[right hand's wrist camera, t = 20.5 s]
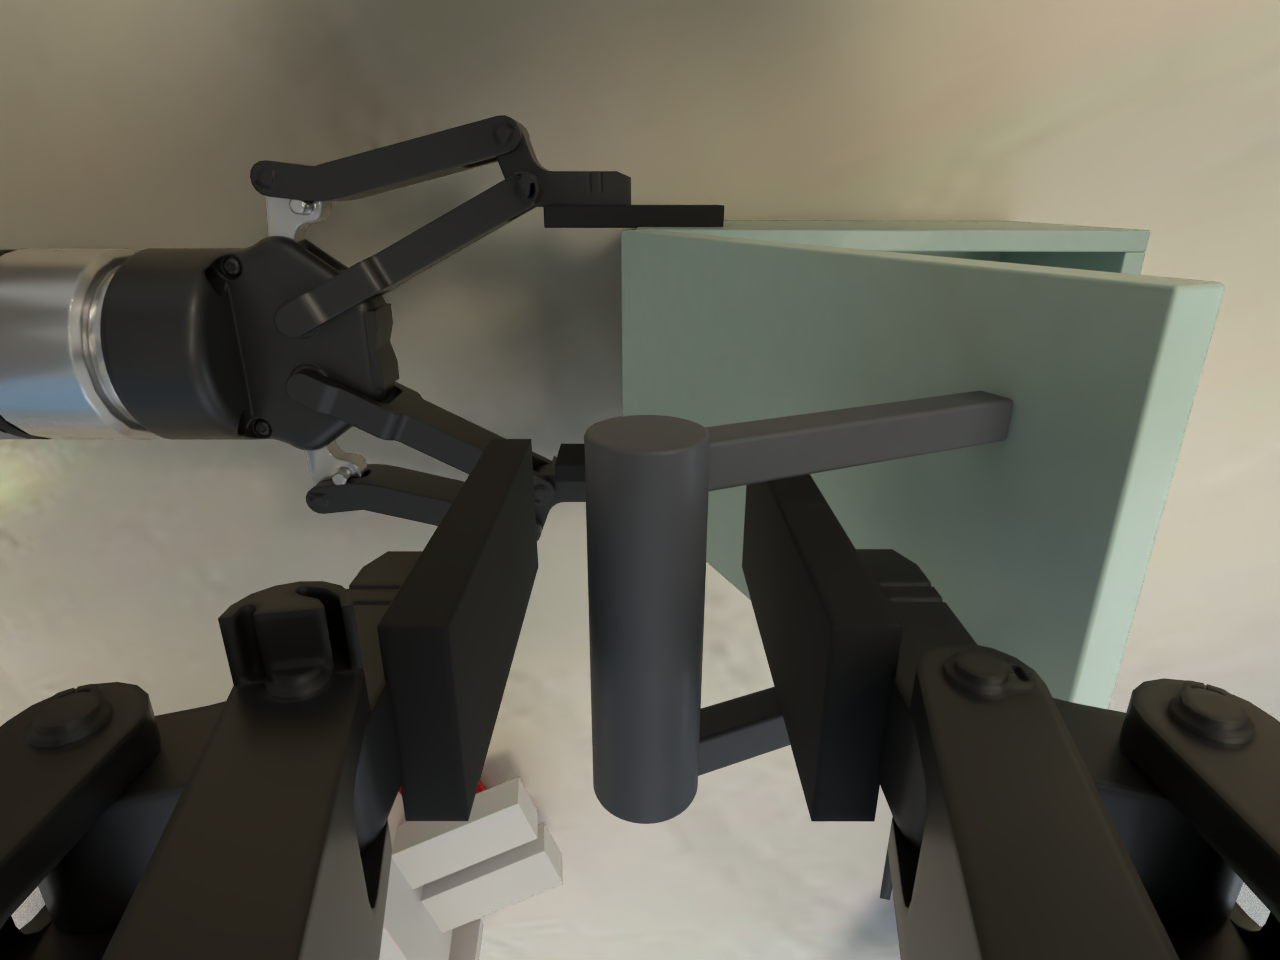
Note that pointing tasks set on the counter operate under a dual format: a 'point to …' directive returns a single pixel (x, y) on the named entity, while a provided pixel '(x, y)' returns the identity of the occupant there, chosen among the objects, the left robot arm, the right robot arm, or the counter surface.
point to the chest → (958, 240)
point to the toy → (463, 873)
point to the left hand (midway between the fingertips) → (714, 346)
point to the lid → (873, 464)
